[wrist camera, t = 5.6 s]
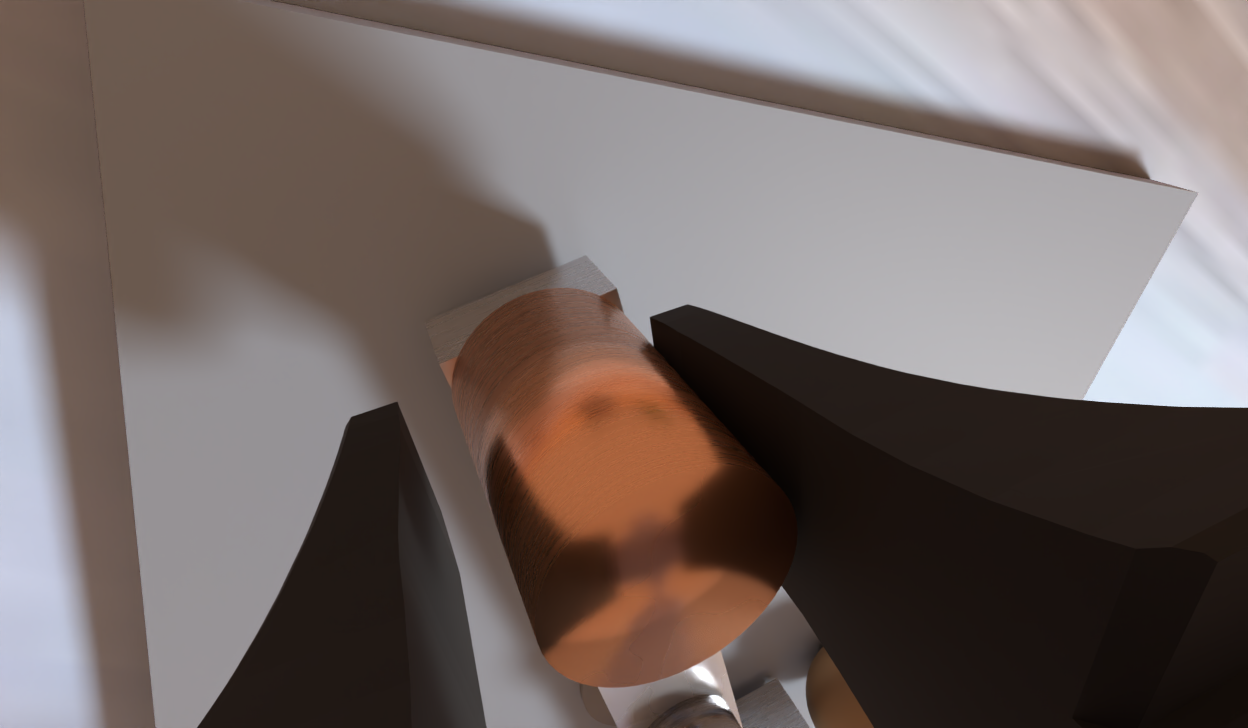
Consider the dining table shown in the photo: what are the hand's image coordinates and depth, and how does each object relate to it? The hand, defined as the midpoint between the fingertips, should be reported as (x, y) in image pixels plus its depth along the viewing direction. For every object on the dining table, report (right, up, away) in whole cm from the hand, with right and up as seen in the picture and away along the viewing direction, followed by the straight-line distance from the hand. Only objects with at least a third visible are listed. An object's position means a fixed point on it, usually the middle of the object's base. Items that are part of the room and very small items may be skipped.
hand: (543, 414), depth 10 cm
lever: (+2, -4, +7) cm, 8 cm away
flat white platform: (+3, -3, +8) cm, 9 cm away
